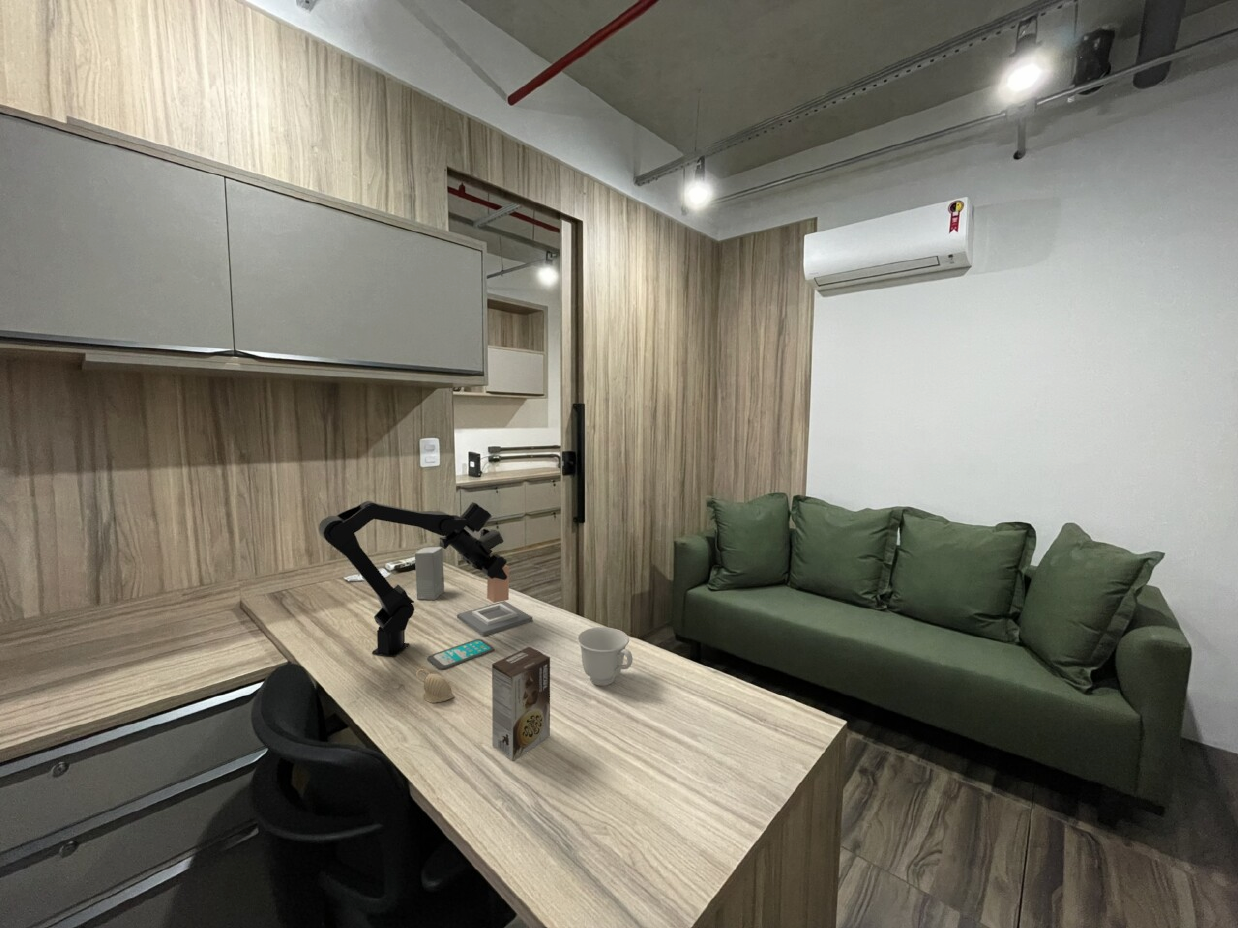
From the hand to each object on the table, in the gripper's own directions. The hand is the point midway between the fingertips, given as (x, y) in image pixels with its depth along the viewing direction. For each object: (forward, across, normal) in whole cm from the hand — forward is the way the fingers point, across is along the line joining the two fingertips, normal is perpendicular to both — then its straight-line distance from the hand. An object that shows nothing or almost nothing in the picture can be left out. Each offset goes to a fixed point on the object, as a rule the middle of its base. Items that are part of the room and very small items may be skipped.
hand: (502, 576), depth 143 cm
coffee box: (-5, -52, +25) cm, 58 cm away
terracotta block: (+4, 0, +6) cm, 7 cm away
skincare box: (+2, +32, +17) cm, 36 cm away
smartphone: (-2, -13, +22) cm, 26 cm away
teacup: (+13, -45, +6) cm, 47 cm away
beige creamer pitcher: (-10, -28, +30) cm, 42 cm away
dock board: (+8, +2, +10) cm, 14 cm away
